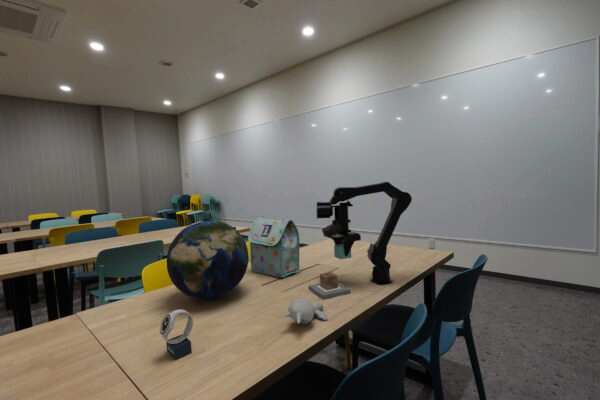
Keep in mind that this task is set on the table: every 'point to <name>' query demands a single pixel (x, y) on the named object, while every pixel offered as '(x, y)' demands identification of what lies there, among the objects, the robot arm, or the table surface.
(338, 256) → the teal block
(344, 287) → the baseplate
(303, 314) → the toy creature
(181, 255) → the globe
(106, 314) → the table surface
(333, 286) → the walnut block
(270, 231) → the lunch bag
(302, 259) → the table surface
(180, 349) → the watch
